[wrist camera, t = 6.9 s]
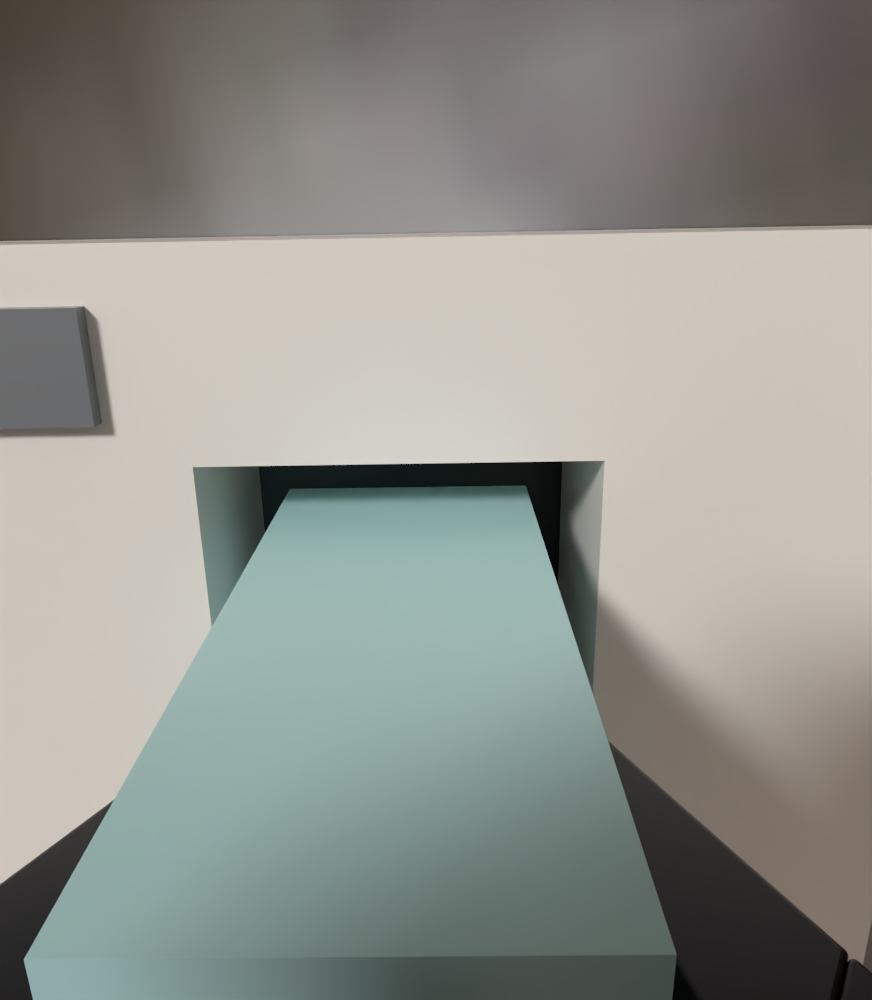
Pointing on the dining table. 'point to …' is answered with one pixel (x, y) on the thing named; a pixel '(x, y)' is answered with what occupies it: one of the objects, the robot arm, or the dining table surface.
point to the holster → (868, 952)
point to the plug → (372, 784)
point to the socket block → (463, 439)
